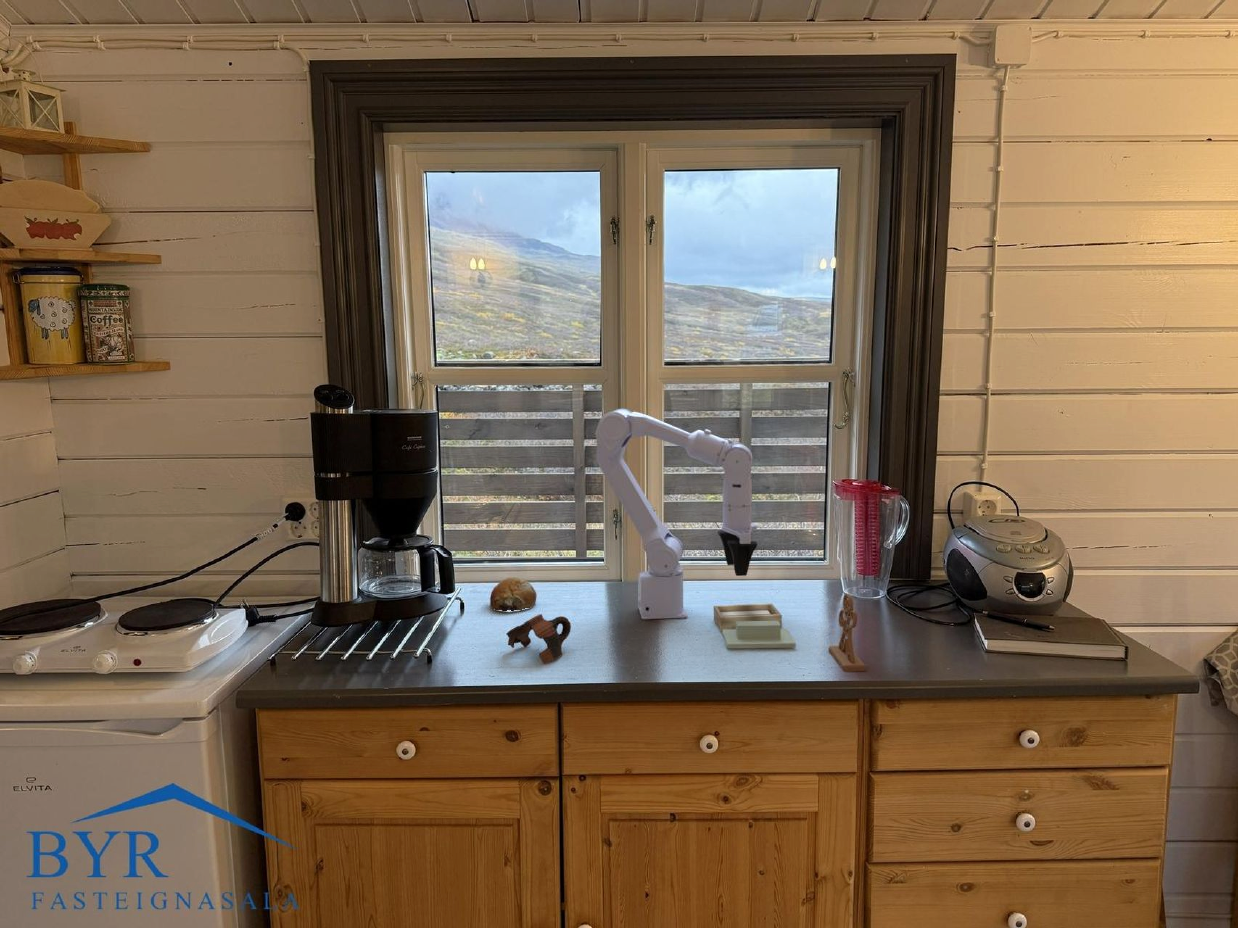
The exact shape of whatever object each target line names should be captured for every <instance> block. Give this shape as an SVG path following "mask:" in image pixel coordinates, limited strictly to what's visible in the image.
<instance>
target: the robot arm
mask: <svg viewBox="0 0 1238 928" xmlns="http://www.w3.org/2000/svg"><path fill="white" fill-rule="evenodd" d="M594 434H595V438H596V462H597V465H598V468H599V469H600V470H601V472H602V473H603V475H604V477H605V479H606V480H607V482H608V483H609V486H610V487H611V488H612V490H613V492H614V494H615V495H616V497H617V499H618V500H619V502H620V503H621V505H622V507H623V509H624V511H626V514H627V515H628V517H629V518H630V520H631V522H632V523H633V525H634V527H635V529H636V530H637V532H638V534H639V536H640V539H641V543H642V548H643V550H644V551H645V553H646V557H647V558H646V559H647V564H648V570H646V571H641V572H639V573H638V574H637V575H638V577H637V579H638V580H637V584H638V585H637V592H638V593H637V594H638V598H637V606H638V610H639V611H638V612H639V614H640V617H641V619H642V620H659V619H660V620H661V619H677V618H679V619H681V618H683V619H684V618H685V619H686V618H688V616H689V614H688V612H687V610H686V609H685V607H684V568H683V567H682V565H681V564H680V560H681V558H682V557H683V554H684V545H683V543H682V542H681V540H680V539H679V538H678V537H676V536H674V535H673V534H672V533H671V531H670V530H669V528H668V527H667V526H666V525H665V524H663V523H662V521H661V520H660V518H659V517H658V515H657V513H656V512H655V510H654V509H653V507H652V505H651V504H650V502H649V499H648V498H647V496H646V495H645V493H644V491H643V490H642V488H641V486H640V485H639V483H638V481H637V480H636V478H635V476H634V475H633V473H632V472H631V470H630V468H629V466H628V465H627V463H626V461H625V460H624V455H625V451H626V448H627V445H628V442H629V441H630V440H631V439H635V438H640V437H647V436H649V437H652V438H655V439H658V440H660V441H663V442H666V443H669V444H672V445H675V446H677V447H680V448H683V449H684V450H685V451H686V452H687V455H688V457H690V458H692V459H695V460H698V461H700V462H703V463H706V464H708V465H710V466H713V467H716V468H719V467H722V469H723V471H724V473H723V474H724V475H723V476H724V477H723V478H724V480H723V482H722V524H721V530H717V534H718V536H719V537H720V540H721V542H722V546H723V550H724V556H725V562H726V564H727V566H733V568H734V574H735V576H736V577H741V576H742V577H745V576H747V574H748V571H749V567H750V564H751V559H752V556H753V554H754V552H755V550H756V549H757V547H758V543H757V541H755V540H754V541H751V538H752V536H751V535H752V534H751V533H752V531H753V530H754V531H755V530H758V526H757V524H756V523H752V511H753V510H752V503H753V502H752V501H753V500H752V499H753V498H752V497H753V495H752V494H753V489H752V487H753V483H752V480H751V479H752V472H751V469H752V467H753V463H754V462H753V454H752V451H751V450H750V449H749V448H748V447H747V446H746V445H745V444H743V443H742V442H734V440H733V439H731V438H729V439H728V440H727V439H725V438H722V437H720V436H716V435H715V434H712V431H711V430H710V429H707V428H706V429H704V431H703V430H701V429H697V430H695V431H693V432H688V431H686V430H684V429H681V428H679V427H676V426H674V425H671V424H670V423H666V422H664V421H662V420H659V419H657V418H655V417H652V416H650V415H647V414H644V413H641V412H638V411H633V412H632V411H631V410H628V409H627V408H617V409H615V410H613V411H609V412H607V413H605V414H603V416H602V417H601V418H600V420H599V421H598V424H597V428H596V430H595V431H594Z"/></svg>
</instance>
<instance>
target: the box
mask: <svg viewBox="0 0 1238 928" xmlns="http://www.w3.org/2000/svg"><path fill="white" fill-rule="evenodd" d="M713 621H714V623H715V625H716V626H717V628H718V630H719V632H720V633H722V629H736V621H779V623H780V625H781V629H782V627H783V626H782V625H783V614H782V613H781V612H780V611H779V610H778V608H777V607H775V606H774V604H773V603H754V604H752V603H751V604H750V603H749V604H748V603H746V604H729V605H728V604H725V605H713Z"/></svg>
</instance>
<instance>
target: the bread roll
mask: <svg viewBox="0 0 1238 928" xmlns="http://www.w3.org/2000/svg"><path fill="white" fill-rule="evenodd" d="M489 601H490V602H489V605H490V606H491V608H492V610H494V609H495V610H494V611H496V610H502V611H507V610H511V611H514V610H522V609H525V608H530V607H531V608H532V607H534V606H535V605H536V603H537V591H536V589H535V588H534V586H533V585H532V584H531V583H530V582H529V581H527V580H525V578H521V577H517V576H514V577H506V578H504V579H503V580H501V581H500V582H498V584H497V585H495V586H494V587H493V589H492V590H491V592H490V598H489ZM535 602H536V603H535ZM534 604H535V605H534ZM533 605H534V606H533ZM531 608H530V609H531Z"/></svg>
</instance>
